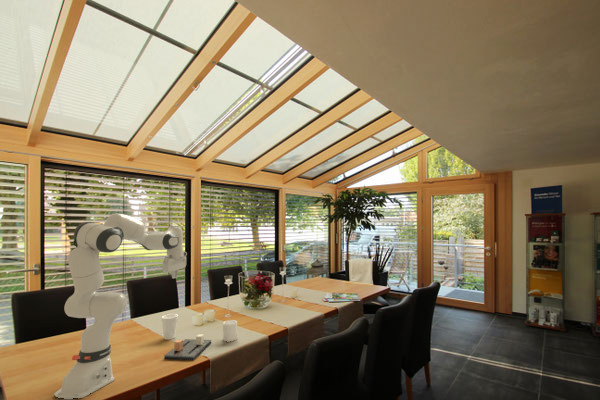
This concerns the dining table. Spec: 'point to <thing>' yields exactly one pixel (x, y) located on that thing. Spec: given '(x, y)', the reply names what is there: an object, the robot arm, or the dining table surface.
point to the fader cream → (200, 339)
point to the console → (188, 350)
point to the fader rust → (178, 345)
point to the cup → (230, 330)
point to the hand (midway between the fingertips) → (174, 278)
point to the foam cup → (169, 325)
